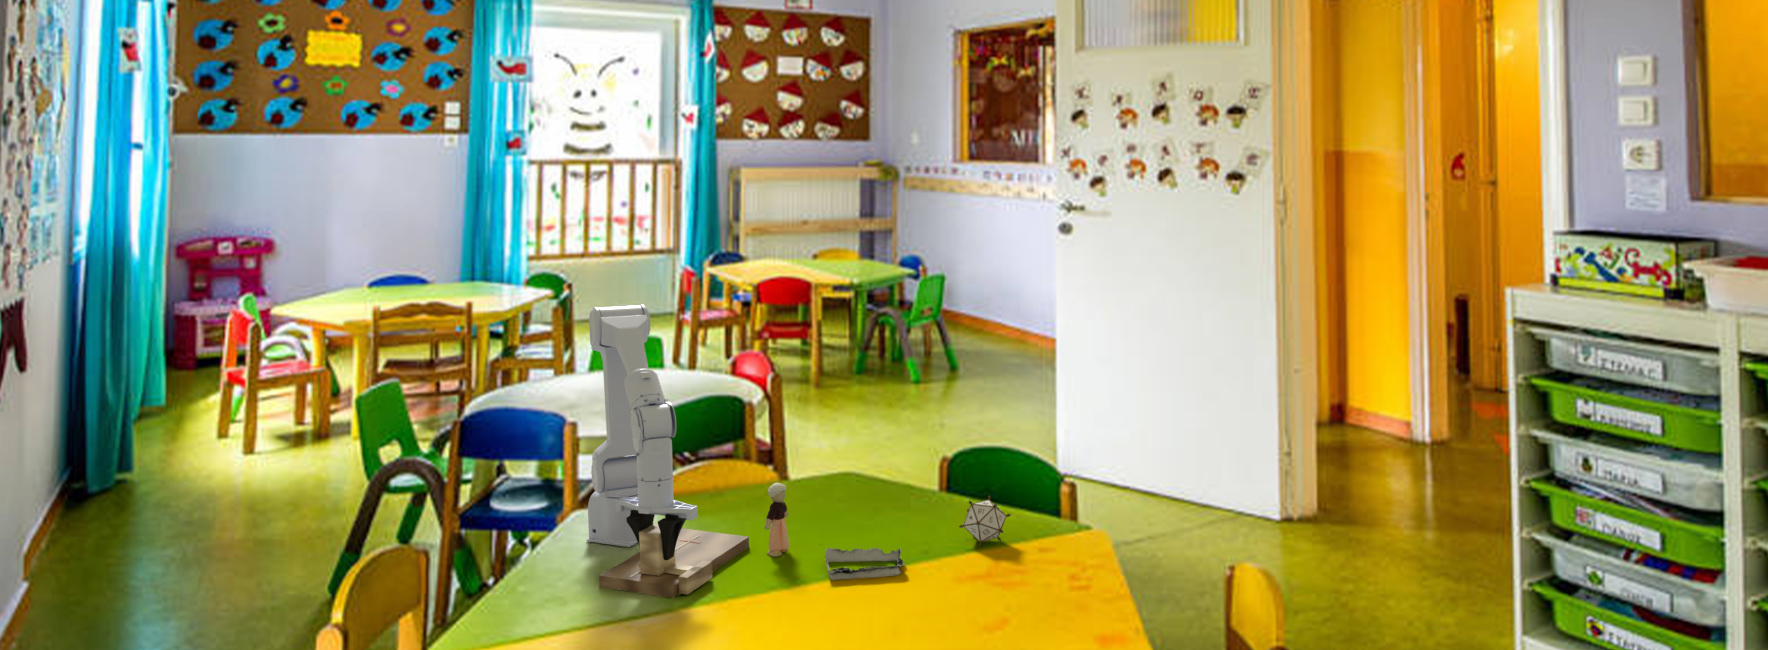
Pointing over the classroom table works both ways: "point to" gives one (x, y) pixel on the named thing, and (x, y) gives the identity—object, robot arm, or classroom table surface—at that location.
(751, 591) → the classroom table surface
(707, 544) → the board
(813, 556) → the classroom table surface
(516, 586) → the classroom table surface
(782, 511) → the grandmother figurine
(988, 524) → the game die
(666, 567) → the beige l-shaped block
